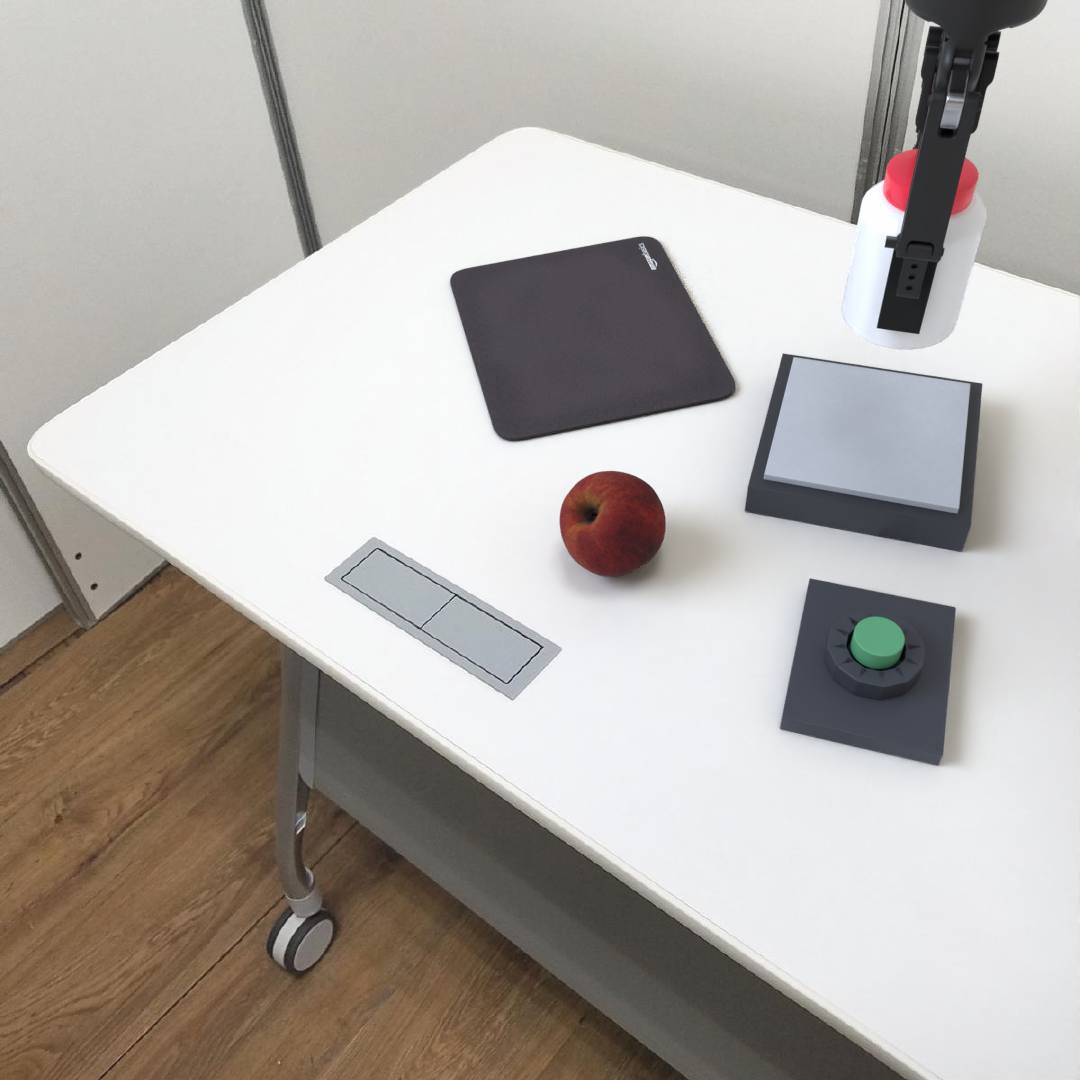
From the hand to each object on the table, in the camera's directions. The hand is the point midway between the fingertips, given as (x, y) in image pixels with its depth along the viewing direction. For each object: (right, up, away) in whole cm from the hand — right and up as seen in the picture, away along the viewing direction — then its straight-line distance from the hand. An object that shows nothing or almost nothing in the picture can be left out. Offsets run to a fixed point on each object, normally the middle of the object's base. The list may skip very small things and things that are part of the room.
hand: (904, 289), depth 74 cm
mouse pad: (-21, +2, +25) cm, 33 cm away
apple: (-19, -18, +8) cm, 28 cm away
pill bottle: (0, -2, +2) cm, 2 cm away
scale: (+1, -11, +13) cm, 17 cm away
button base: (-3, -26, 0) cm, 26 cm away
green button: (-3, -24, -2) cm, 25 cm away
